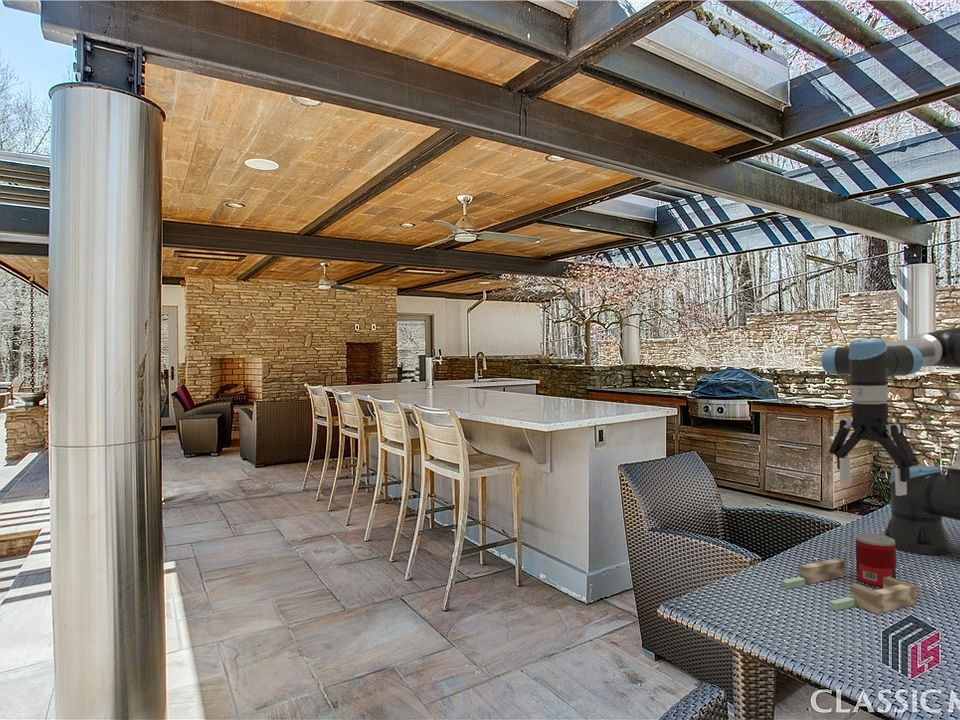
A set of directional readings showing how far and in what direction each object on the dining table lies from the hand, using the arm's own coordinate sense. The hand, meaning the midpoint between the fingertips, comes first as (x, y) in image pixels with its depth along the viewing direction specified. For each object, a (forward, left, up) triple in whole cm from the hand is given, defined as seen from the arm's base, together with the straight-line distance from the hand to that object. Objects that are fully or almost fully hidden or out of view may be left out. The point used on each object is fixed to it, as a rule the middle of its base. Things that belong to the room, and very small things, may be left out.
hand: (872, 488), depth 138 cm
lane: (+9, +2, -23) cm, 25 cm away
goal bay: (+19, 0, -23) cm, 30 cm away
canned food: (-1, 0, -24) cm, 24 cm away
